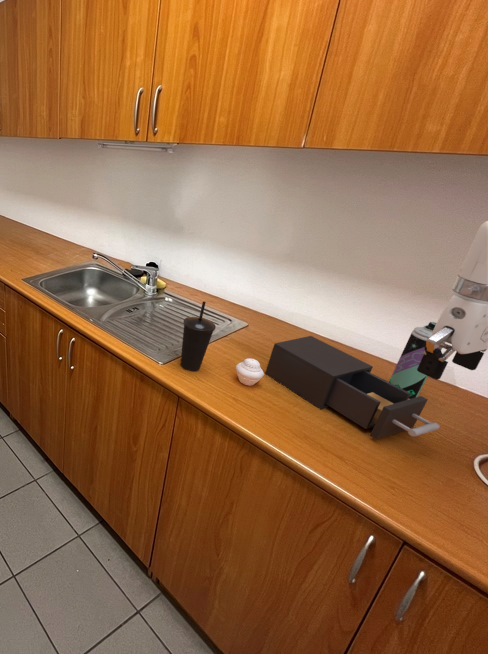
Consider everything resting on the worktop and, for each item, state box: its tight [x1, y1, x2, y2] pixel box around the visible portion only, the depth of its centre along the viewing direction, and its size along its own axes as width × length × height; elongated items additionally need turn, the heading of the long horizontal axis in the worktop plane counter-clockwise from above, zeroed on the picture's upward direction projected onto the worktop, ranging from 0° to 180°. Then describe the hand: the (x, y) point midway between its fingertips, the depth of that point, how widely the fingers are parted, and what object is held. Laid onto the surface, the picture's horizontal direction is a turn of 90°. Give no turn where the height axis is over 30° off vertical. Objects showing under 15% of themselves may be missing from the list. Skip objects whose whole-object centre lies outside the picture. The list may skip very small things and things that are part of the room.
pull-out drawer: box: [325, 371, 441, 440], centre depth 88 cm, size 18×11×8 cm, turn 16°
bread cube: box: [367, 392, 394, 424], centre depth 88 cm, size 5×5×4 cm
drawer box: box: [264, 335, 374, 410], centre depth 99 cm, size 15×13×10 cm
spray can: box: [388, 321, 446, 400], centre depth 94 cm, size 6×6×20 cm
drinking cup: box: [180, 301, 217, 372], centre depth 106 cm, size 8×8×20 cm
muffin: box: [235, 357, 265, 387], centre depth 102 cm, size 6×6×7 cm
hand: (445, 370), depth 76 cm, fingers open, 9 cm apart
